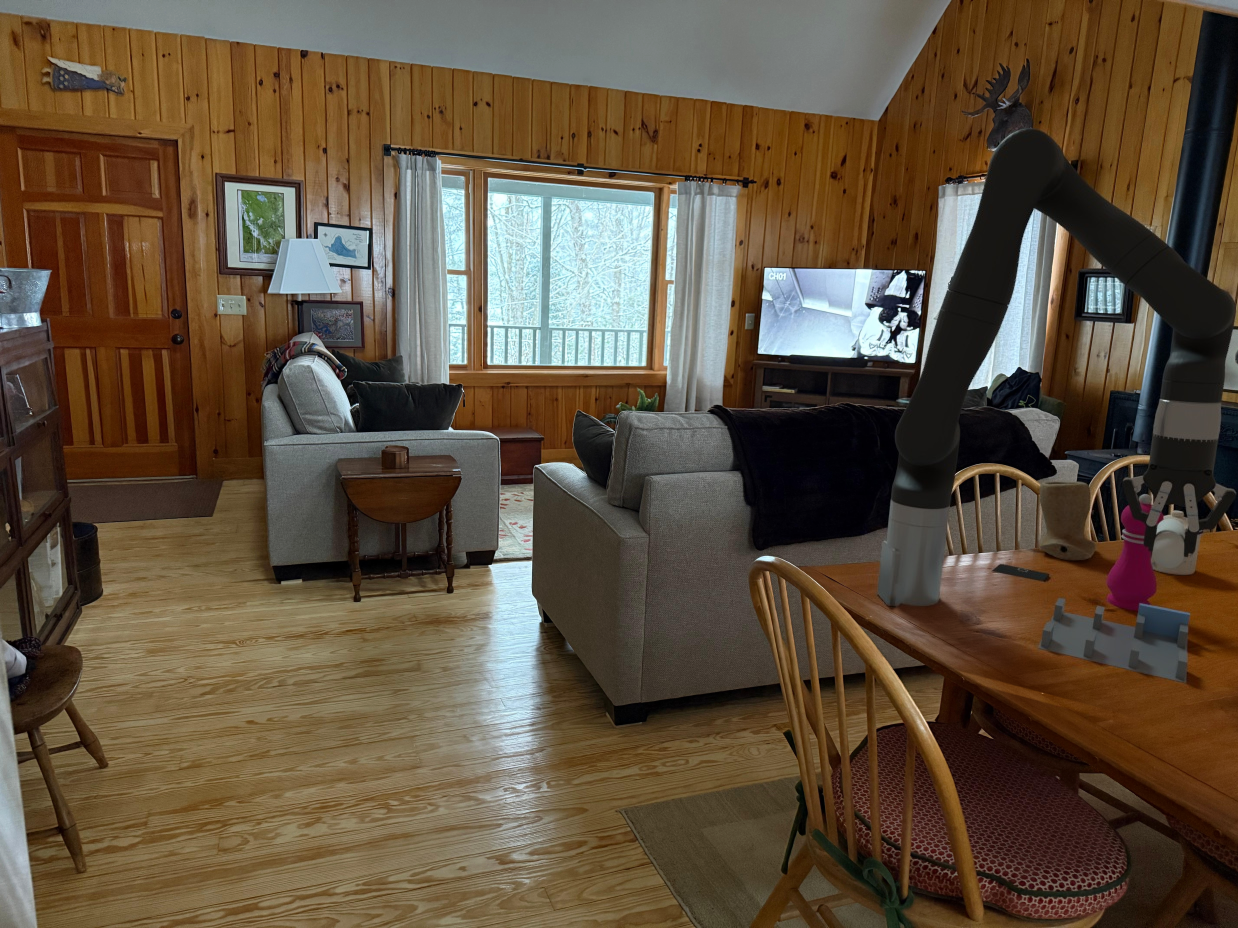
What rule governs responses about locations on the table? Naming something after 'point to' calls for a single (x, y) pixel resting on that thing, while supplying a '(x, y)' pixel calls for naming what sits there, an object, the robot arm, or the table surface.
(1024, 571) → the cell phone
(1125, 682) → the table surface
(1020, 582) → the table surface
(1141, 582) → the pepper mill
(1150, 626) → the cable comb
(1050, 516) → the sheepskin slipper boot
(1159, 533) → the white rounded capsule
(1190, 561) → the teacup with lid
